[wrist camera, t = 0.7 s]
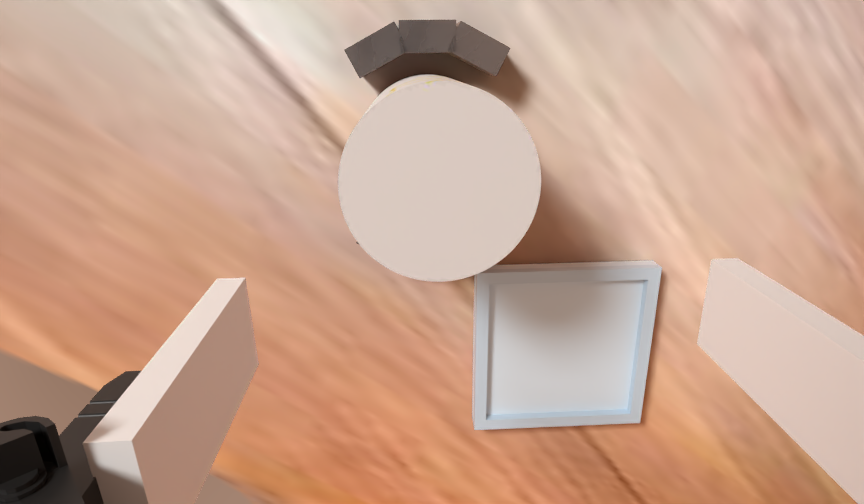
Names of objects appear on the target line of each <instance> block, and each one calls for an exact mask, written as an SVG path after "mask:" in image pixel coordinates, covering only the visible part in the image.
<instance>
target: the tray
mask: <svg viewBox="0 0 864 504" xmlns="http://www.w3.org/2000/svg"><path fill="white" fill-rule="evenodd" d="M661 271H662V267H660V266H659V265H658V264H657V263H655V262H654V261H653V260H644V261H610V262H576V263H543V264H509V265H493V266H492V267H490V268H488V269H487V270H485V271H483V272H480V273H478V274H476V275H474V331H473V395H472V420H473V425H474V430H489V429H512V428H535V427H558V426H581V425H604V424H627V423H640V420H641V413H642V406H643V399H644V392H645V385H646V378H647V371H648V363H649V356H650V349H651V342H652V335H653V328H654V321H655V314H656V306H657V299H658V292H659V285H660V278H661Z"/></svg>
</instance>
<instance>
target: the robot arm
mask: <svg viewBox="0 0 864 504" xmlns="http://www.w3.org/2000/svg"><path fill="white" fill-rule="evenodd" d="M697 345H698V346H699V347H701V348H702V349H703V350H704V351H705V352H706V353H707V354H708V355H709V356H710V357H711V358H712V359H713V360H714V361H715V362H716V363H717V364H718V365H719V366H720V367H721V368H722V369H723V370H724V371H725V372H726V373H727V374H728V375H729V376H730V377H731V378H732V379H733V380H734V381H735V382H736V383H737V384H738V385H739V386H740V387H741V388H742V389H743V390H744V391H745V392H746V393H747V394H748V395H749V396H750V397H751V398H752V399H753V400H754V401H755V402H756V403H757V404H758V405H759V406H760V407H761V408H762V409H763V410H764V411H765V412H766V413H767V414H768V415H769V416H770V417H771V418H772V419H773V420H774V421H775V422H776V423H777V424H778V425H779V426H780V427H781V428H782V429H783V430H784V431H785V432H786V433H787V434H788V435H789V436H790V437H791V438H792V439H793V440H794V441H795V442H796V443H797V444H798V445H799V446H800V447H801V448H802V449H803V450H804V451H805V452H806V453H807V454H808V455H809V456H810V457H811V458H812V459H813V460H814V461H815V462H816V463H817V464H818V465H819V466H820V467H821V468H822V469H823V470H824V471H825V472H826V473H827V474H828V475H829V476H830V477H831V478H832V479H833V480H834V481H835V482H836V483H837V484H838V485H839V486H840V487H841V488H842V489H843V490H844V491H845V492H846V493H847V494H848V495H849V496H850V497H851V498H852V499H853V500H854V501H855V502H856V503H858V504H864V336H863V335H862V334H860V333H858V332H857V331H855V330H854V329H852V328H850V327H849V326H847V325H845V324H844V323H842V322H841V321H839V320H837V319H836V318H834V317H832V316H831V315H829V314H828V313H826V312H824V311H823V310H821V309H819V308H818V307H816V306H815V305H813V304H811V303H810V302H808V301H806V300H805V299H803V298H802V297H800V296H798V295H797V294H795V293H794V292H792V291H790V290H789V289H787V288H785V287H784V286H782V285H781V284H779V283H777V282H776V281H774V280H772V279H771V278H769V277H768V276H766V275H764V274H763V273H761V272H759V271H758V270H756V269H755V268H753V267H751V266H750V265H748V264H746V263H745V262H743V261H742V260H740V259H738V258H728V259H711V265H710V271H709V277H708V282H707V288H706V294H705V300H704V306H703V312H702V318H701V323H700V329H699V335H698V341H697ZM258 365H259V362H258V356H257V349H256V343H255V337H254V330H253V324H252V317H251V311H250V304H249V298H248V292H247V285H246V279H245V278H224V279H217V280H216V281H215V282H214V283H213V284H212V286H211V287H210V288H209V289H208V291H207V292H206V293H205V294H204V295H203V297H202V298H201V299H200V300H199V302H198V303H197V304H196V305H195V306H194V308H193V309H192V310H191V311H190V313H189V314H188V315H187V316H186V317H185V319H184V320H183V321H182V322H181V324H180V325H179V326H178V327H177V328H176V330H175V331H174V332H173V333H172V335H171V336H170V337H169V338H168V339H167V341H166V342H165V343H164V344H163V345H162V347H161V348H160V349H159V350H158V352H157V353H156V354H155V355H154V356H153V358H152V359H151V360H150V361H149V363H148V364H147V365H146V366H145V367H144V369H143V370H142V371H127V372H124V373H123V374H121V375H120V376H118V377H117V378H115V379H114V380H112V381H110V382H109V383H107V384H106V385H104V386H103V387H102V389H101V390H100V391H99V392H98V393H97V394H96V395H95V396H94V398H93V399H92V400H91V401H90V404H88V405H86V407H85V408H84V409H83V410H82V411H81V412H80V413H79V416H78V418H75V419H74V420H73V421H72V422H71V423H70V425H69V426H68V427H67V428H66V429H65V430H64V431H63V432H62V434H60V436H59V435H58V432H57V429H56V426H55V424H54V423H53V422H52V421H51V420H50V419H48V418H44V417H37V416H33V417H23V418H17V419H13V420H10V421H6V422H3V423H0V504H195V501H196V499H197V497H198V495H199V492H200V491H201V488H202V486H203V484H204V482H205V479H206V478H207V475H208V473H209V471H210V469H211V467H212V464H213V462H214V460H215V458H216V456H217V454H218V451H219V449H220V447H221V445H222V443H223V441H224V438H225V436H226V434H227V432H228V430H229V428H230V425H231V423H232V421H233V419H234V417H235V415H236V412H237V410H238V408H239V406H240V404H241V402H242V399H243V397H244V395H245V393H246V391H247V389H248V386H249V384H250V382H251V380H252V378H253V376H254V373H255V371H256V369H257V367H258Z"/></svg>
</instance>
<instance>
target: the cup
mask: <svg viewBox="0 0 864 504" xmlns="http://www.w3.org/2000/svg"><path fill="white" fill-rule="evenodd" d="M540 192H541V168H540V161H539V157H538V153H537V150H536V147H535V144H534V142H533V139H532V137H531V135H530V133H529V131H528V130H527V128H526V126H525V125H524V123H523V122H522V121H521V119H520V118H519V117H518V116H517V115H516V114H515V112H514V111H513V110H512V109H511V108H509V107H508V106H507V105H506V104H505V103H504V102H502V101H501V100H500V99H498V98H497V97H495V96H493V95H492V94H490V93H488V92H486V91H484V90H482V89H479V88H477V87H474V86H471V85H468V84H466V83H463V82H460V81H457V80H454V79H451V78H448V77H445V76H441V75H435V74H419V75H413V76H409V77H406V78H403V79H401V80H399V81H397V82H395V83H393V84H392V85H390V86H389V87H387V88H386V89H385V90H384V91H382V92H381V93H380V94H379V95H378V96H377V98H376V99H375V100H374V101H373V103H372V104H371V105H370V107H369V108H368V110H367V111H366V112H365V114H364V115H363V117H362V118H361V119H360V121H359V122H358V124H357V125H356V126H355V128H354V129H353V131H352V133H351V134H350V136H349V138H348V140H347V143H346V145H345V147H344V150H343V153H342V157H341V160H340V165H339V172H338V194H339V201H340V206H341V209H342V213H343V216H344V218H345V221H346V223H347V225H348V227H349V229H350V231H351V233H352V235H353V236H354V238H355V239H356V241H357V242H358V243H359V244H360V246H361V247H362V248H363V249H364V250H365V251H366V252H367V253H368V254H369V255H370V256H371V257H372V258H373V259H375V260H376V261H377V262H378V263H380V264H381V265H383V266H384V267H386V268H388V269H390V270H391V271H394V272H396V273H398V274H400V275H403V276H406V277H409V278H413V279H417V280H423V281H432V282H443V281H453V280H459V279H463V278H467V277H470V276H473V275H476V274H478V273H480V272H483V271H485V270H487V269H488V268H490V267H492V266H493V265H495V264H496V263H498V262H499V261H501V260H502V259H503V258H504V257H506V256H507V255H508V254H509V253H510V252H511V251H512V250H513V249H514V248H515V247H516V246H517V244H518V243H519V242H520V241H521V239H522V238H523V237H524V235H525V233H526V232H527V230H528V229H529V227H530V225H531V223H532V220H533V218H534V216H535V213H536V210H537V207H538V203H539V198H540Z"/></svg>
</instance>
